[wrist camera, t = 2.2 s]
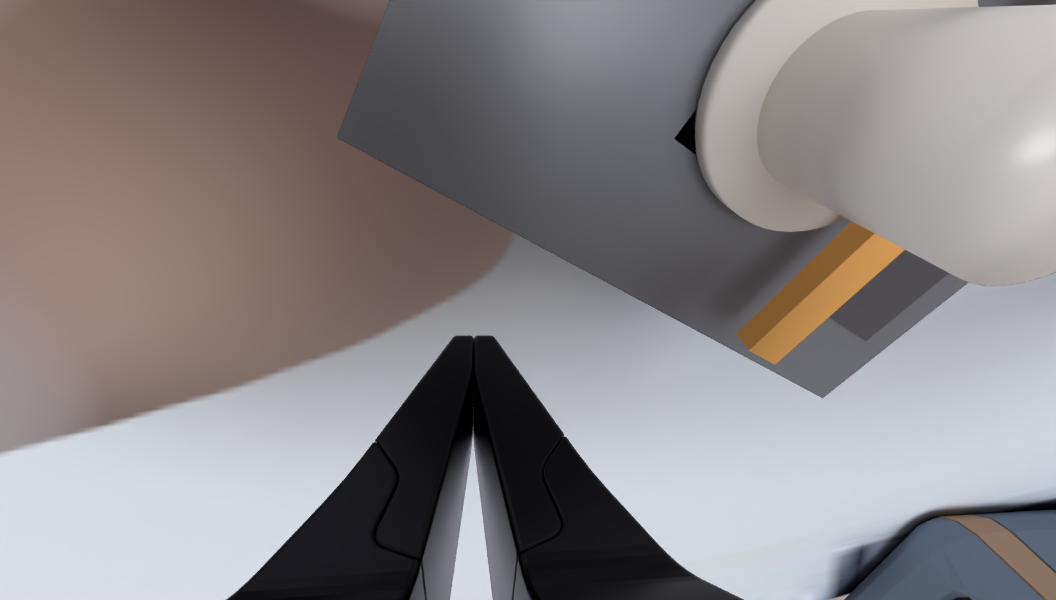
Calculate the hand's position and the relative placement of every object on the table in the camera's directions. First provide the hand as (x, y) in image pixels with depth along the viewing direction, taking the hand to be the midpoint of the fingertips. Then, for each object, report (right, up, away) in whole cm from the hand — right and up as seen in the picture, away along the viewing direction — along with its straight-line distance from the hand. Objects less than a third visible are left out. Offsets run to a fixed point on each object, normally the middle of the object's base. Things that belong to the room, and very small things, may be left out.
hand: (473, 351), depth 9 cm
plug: (+8, +8, +4) cm, 12 cm away
